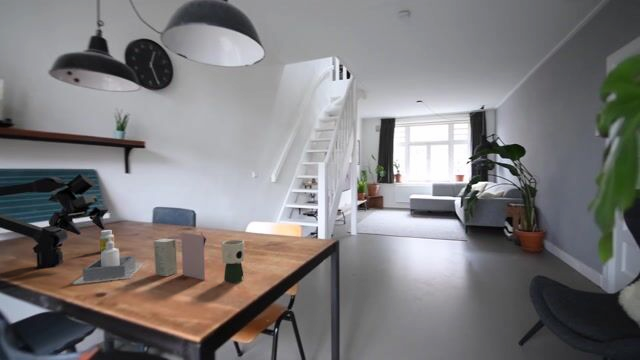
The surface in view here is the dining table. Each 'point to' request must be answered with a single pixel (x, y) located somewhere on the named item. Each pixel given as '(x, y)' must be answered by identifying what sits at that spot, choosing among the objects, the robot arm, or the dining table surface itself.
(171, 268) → the skincare box
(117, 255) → the eye dropper bottle
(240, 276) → the character mug
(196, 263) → the greeting card
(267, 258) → the dining table surface
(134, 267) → the flat grey tray
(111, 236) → the supplement bottle
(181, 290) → the dining table surface
